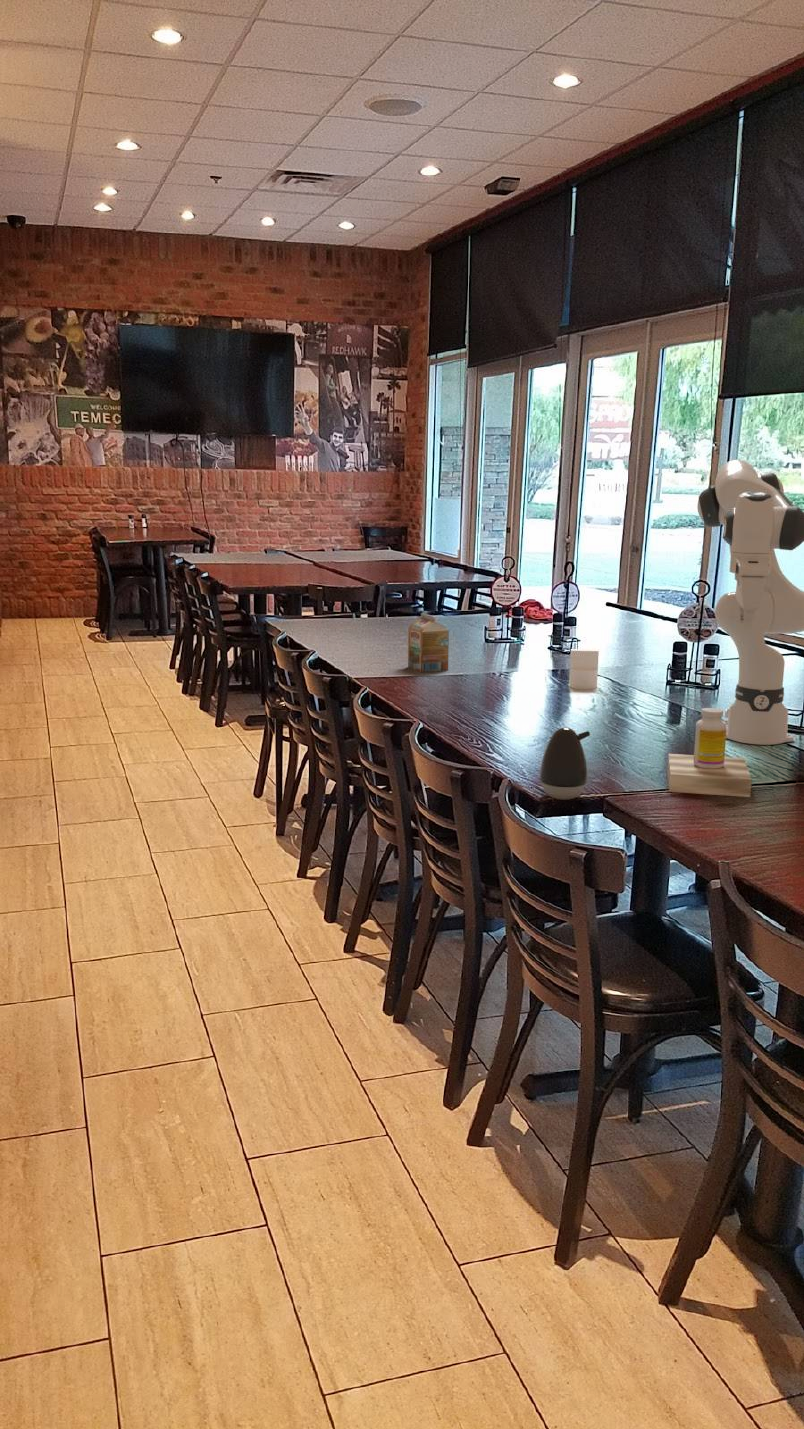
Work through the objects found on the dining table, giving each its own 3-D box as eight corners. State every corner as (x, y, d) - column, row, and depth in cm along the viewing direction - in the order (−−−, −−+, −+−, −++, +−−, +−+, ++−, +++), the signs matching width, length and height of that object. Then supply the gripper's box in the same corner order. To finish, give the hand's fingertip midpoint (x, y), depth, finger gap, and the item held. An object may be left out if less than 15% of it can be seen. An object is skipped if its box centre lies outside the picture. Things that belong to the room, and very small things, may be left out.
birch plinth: (667, 770, 256) (668, 753, 255) (742, 774, 252) (743, 758, 251) (669, 791, 238) (670, 774, 238) (750, 797, 235) (751, 779, 234)
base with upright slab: (595, 684, 358) (597, 648, 355) (598, 689, 349) (599, 652, 347) (568, 683, 359) (569, 647, 356) (569, 688, 350) (571, 652, 347)
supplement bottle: (728, 769, 242) (733, 712, 239) (700, 770, 241) (704, 713, 238) (715, 761, 248) (719, 706, 246) (688, 762, 247) (692, 707, 244)
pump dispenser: (592, 803, 230) (596, 733, 226) (544, 803, 229) (547, 733, 226) (581, 789, 240) (584, 722, 236) (534, 789, 239) (537, 722, 236)
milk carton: (408, 667, 386) (408, 613, 382) (434, 665, 390) (435, 612, 386) (421, 672, 376) (421, 617, 372) (448, 670, 381) (449, 616, 377)
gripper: (732, 561, 257) (727, 619, 260) (739, 568, 238) (734, 631, 241) (759, 562, 256) (755, 620, 259) (769, 569, 236) (764, 632, 239)
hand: (745, 625), depth 250 cm, fingers open, 8 cm apart
